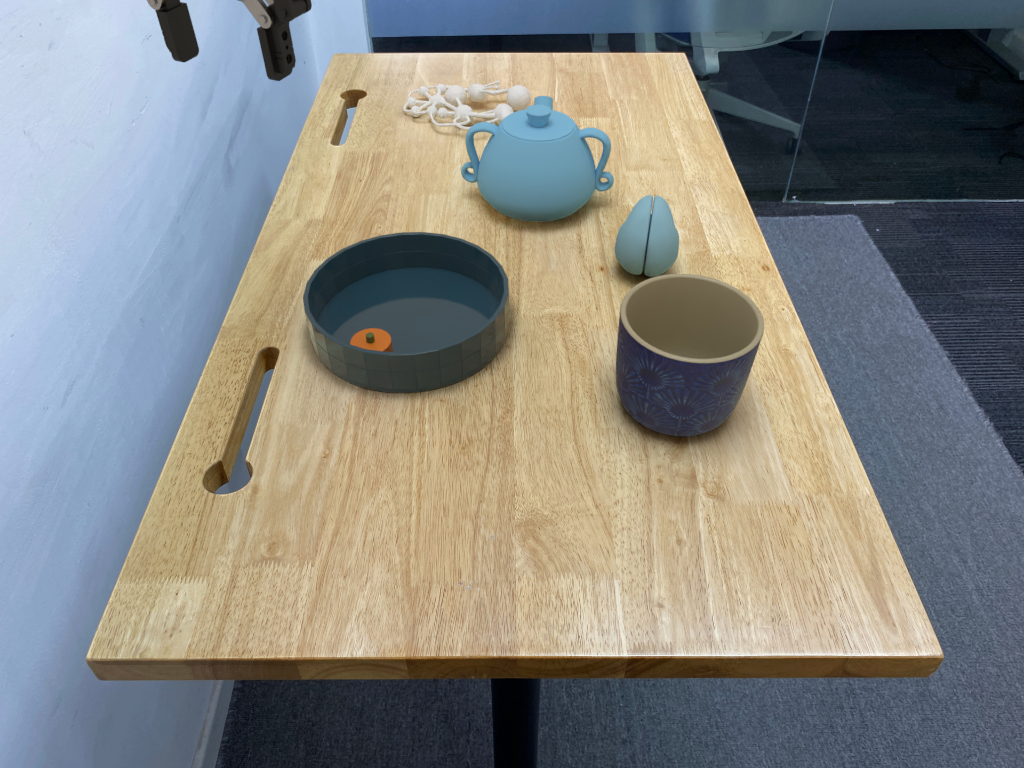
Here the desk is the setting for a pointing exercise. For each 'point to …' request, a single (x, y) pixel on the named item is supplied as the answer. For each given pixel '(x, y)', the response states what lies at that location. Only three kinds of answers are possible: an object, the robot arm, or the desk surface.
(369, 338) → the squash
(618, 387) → the planter
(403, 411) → the desk surface
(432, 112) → the tangled rod sculpture
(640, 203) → the toy flower bud
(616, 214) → the desk surface
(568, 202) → the blue sugar bowl
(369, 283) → the bowl
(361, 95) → the desk surface
